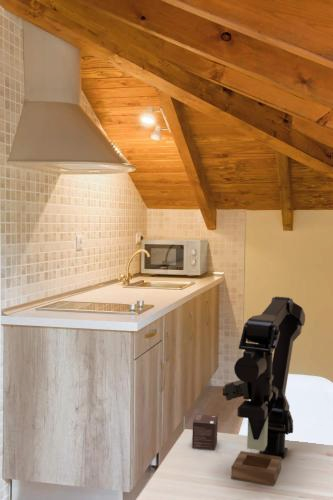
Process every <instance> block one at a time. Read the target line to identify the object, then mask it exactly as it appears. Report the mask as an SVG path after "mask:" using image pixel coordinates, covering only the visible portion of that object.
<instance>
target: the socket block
mask: <svg viewBox="0 0 333 500" xmlns="http://www.w3.org/2000/svg"><path fill="white" fill-rule="evenodd" d="M281 470H282V458H281V457H277V456H271V455H265V454H259V452H258V453H256V452H252V451H244V450H240V452H239V454H238V455H237V456H236V458H235V460H234V462H233V463H232V465H231V471H230V473H231V474H230V479H231V480H237V481H242V482H246V483H247V482H248V483H252V484H260V485H266V486H271V487H274V486H275V485H276V481H277V480H278V477H279V475H280V472H281Z"/></svg>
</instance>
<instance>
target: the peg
mask: <svg viewBox="0 0 333 500" xmlns="http://www.w3.org/2000/svg"><path fill="white" fill-rule="evenodd" d="M267 413H268V412H267ZM267 435H268V417H267V420H266V422H265V425H264V427H263V429H262V432H261V434H260V437H259V439H258V440H255V439H253V435H252V431H251V426H250V422H249V419H248V418H247V437H246V438H247V442H246V443H247V447H246V448H247V450H248V449H249V450H255V451H260V450H261V451H264V450H265V448H266V446H267Z"/></svg>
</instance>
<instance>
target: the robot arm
mask: <svg viewBox="0 0 333 500" xmlns="http://www.w3.org/2000/svg"><path fill="white" fill-rule="evenodd" d="M305 322H306V314H305V311H304V308H303V307H302V306H301V305H298V304H297V303H296V302H294V300H293V298H290V297H289V296H288V297H287V296H274V297H271V301H270V303H269V304H268V306H267V307H266V308H265V309H264V310H263V312H262V313H261V314H259V315H252V316H251V317H249V318H248V319H247V321H246V322H245V323H244V325H243V328H242V329H243V330H242V333H241V337H240V340H239V345H238V349H239V350H243V352H242V356H241V357H240V358H238V359H237V361H236V362H235V364H234V366H233V368H234V369H233V371H234V374H235V376H236V378H238V379H239V380H235V381H231V382H228V383H226V384H224V385H223V387H222V396H223V397H225V399H226V401H229V402H230V401H231V400H232V399H233V400H235V399H238V398H241V397H242V399H243V400H244V401H242V402H240V404H239V405H238V407H237V413H236V414H237V417H238V418H244V419H247V420H248V419H249V422H250V426H251V431H252V435H253V439H255V440H258V439H259V437H260V434H261V432H262V429H263V427H264V425H265V422H266V420H267V417H268V435H267V446H266V448H265V450H264V451H261V450H259V452H258V454H265V455H271V456H277V457H281V459H285V458H286V455H287V453H288V447H286V435H289V434H293V433H294V420H293V417H292V412H291V411H290V404H289V401H288V399H287V395H286V390H287V385H288V384H287V383H288V377H289V373H290V372H289V371H290V365H291V360H292V359H291V358H292V353H293V347H294V341H296V339H297V338H298V337H299V336H300V335H301V333H302V329H303V327H304V326H305ZM267 412H268V413H267Z"/></svg>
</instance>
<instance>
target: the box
mask: <svg viewBox="0 0 333 500" xmlns="http://www.w3.org/2000/svg"><path fill="white" fill-rule="evenodd" d="M218 418H219V416H217V415H210V414H209V415H208V414H199V413H196V414H195V416H194V418H193V421H192V440H191V448H192V449H195V448H198V449H197V450H206V449H207V451H208V450H209V451H215V449H216V446H217V443H218V422H219V421H218Z"/></svg>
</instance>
